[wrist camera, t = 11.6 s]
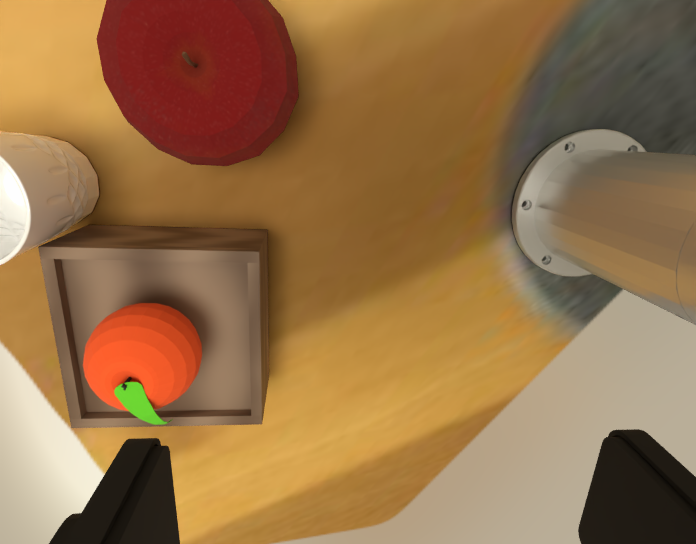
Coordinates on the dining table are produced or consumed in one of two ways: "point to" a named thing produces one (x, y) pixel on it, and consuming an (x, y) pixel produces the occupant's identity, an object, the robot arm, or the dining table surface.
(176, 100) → the apple
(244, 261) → the walnut stand
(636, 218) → the robot arm
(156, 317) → the clementine
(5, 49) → the dining table surface
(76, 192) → the white cup
